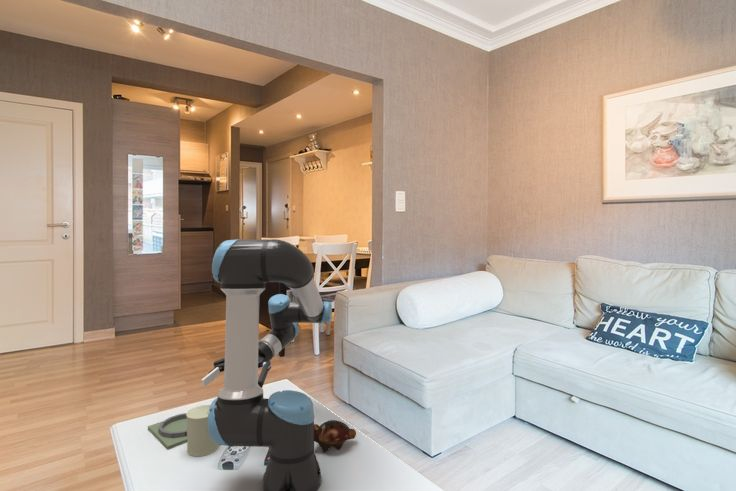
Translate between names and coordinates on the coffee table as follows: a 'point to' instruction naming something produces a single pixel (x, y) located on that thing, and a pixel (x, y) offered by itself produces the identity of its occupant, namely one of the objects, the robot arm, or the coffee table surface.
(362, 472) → the coffee table surface
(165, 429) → the deck mount
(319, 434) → the decorative turtle
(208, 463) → the coffee table surface
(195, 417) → the can
